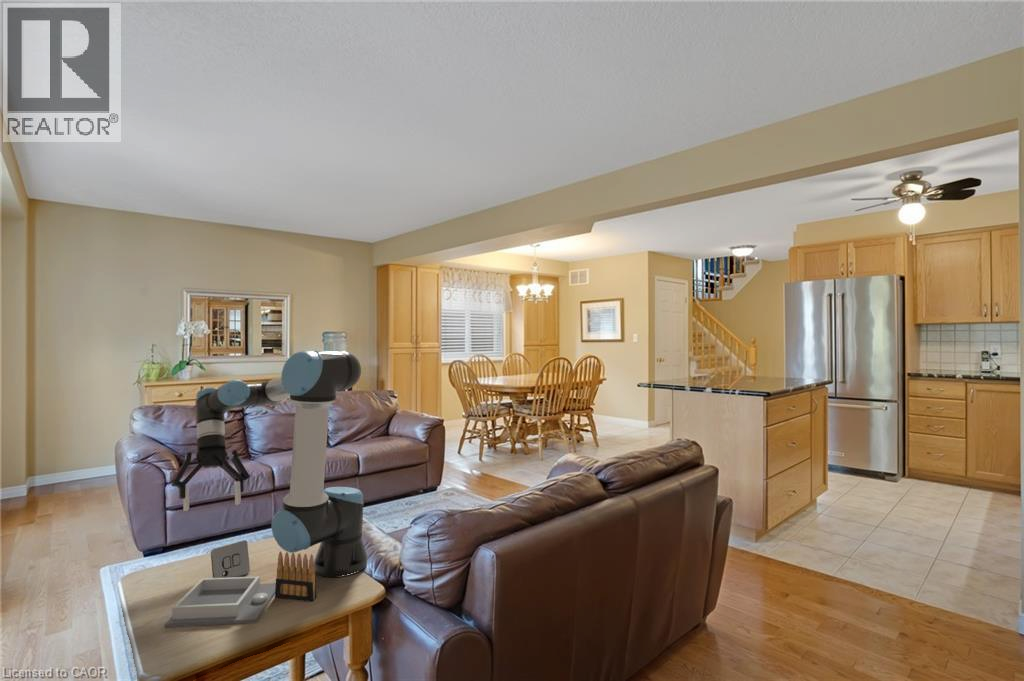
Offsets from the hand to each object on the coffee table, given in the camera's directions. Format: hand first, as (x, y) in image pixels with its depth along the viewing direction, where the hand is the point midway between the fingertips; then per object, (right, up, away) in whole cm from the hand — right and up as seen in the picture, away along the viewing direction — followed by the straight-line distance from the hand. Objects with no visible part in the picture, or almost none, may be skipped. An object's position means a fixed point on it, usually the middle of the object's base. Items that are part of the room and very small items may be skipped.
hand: (213, 506), depth 147 cm
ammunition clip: (+31, -19, -16) cm, 40 cm away
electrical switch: (+7, -18, -5) cm, 20 cm away
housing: (+16, -18, -20) cm, 31 cm away
